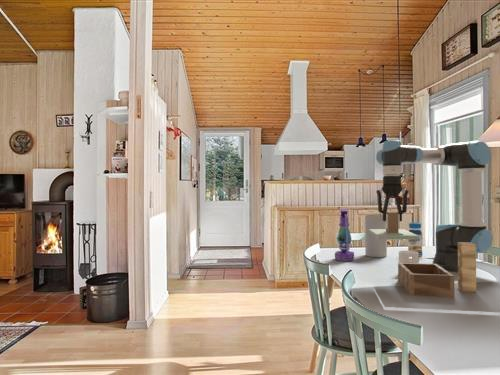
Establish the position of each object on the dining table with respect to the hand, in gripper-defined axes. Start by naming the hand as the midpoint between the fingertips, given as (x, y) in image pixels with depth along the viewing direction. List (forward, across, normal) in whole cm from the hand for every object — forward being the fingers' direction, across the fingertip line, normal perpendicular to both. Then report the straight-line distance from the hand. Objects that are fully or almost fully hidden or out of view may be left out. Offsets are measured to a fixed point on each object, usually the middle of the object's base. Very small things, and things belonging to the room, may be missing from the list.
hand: (392, 228), depth 165 cm
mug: (+25, +11, +18) cm, 33 cm away
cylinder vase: (+25, +4, +68) cm, 72 cm away
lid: (+3, 0, +1) cm, 3 cm away
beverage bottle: (+25, +28, +72) cm, 82 cm away
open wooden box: (+25, +11, -8) cm, 28 cm away
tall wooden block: (+25, +27, -9) cm, 38 cm away
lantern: (+25, -16, +53) cm, 61 cm away
